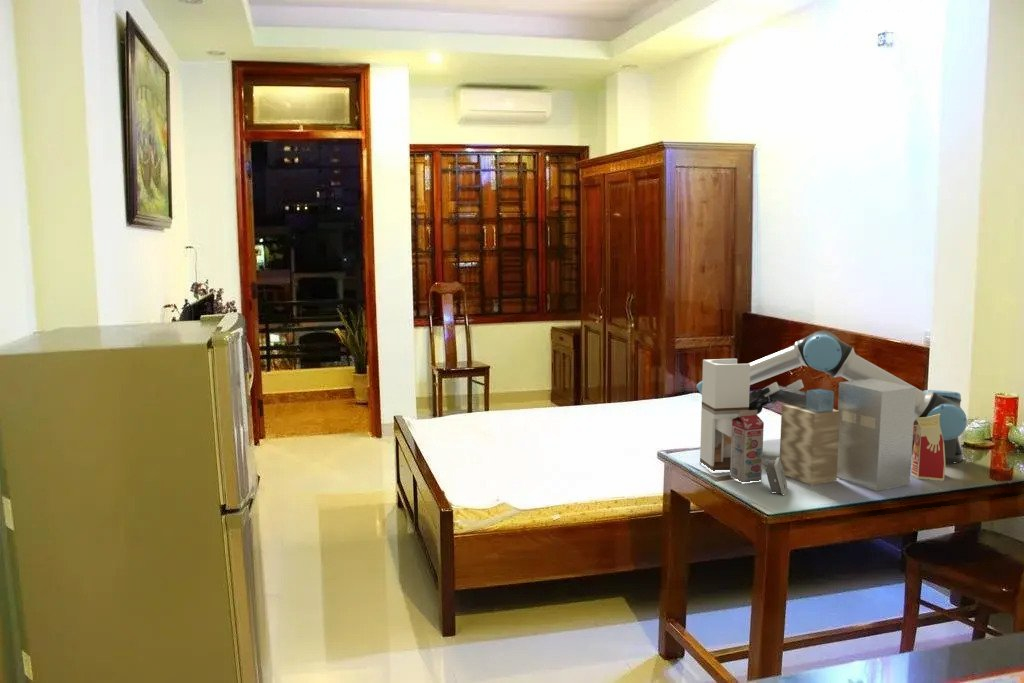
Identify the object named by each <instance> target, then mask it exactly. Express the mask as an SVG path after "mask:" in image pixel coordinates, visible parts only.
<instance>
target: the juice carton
mask: <svg viewBox="0 0 1024 683" xmlns="http://www.w3.org/2000/svg"><path fill="white" fill-rule="evenodd" d="M764 424H765V423H764V421H763V420H762V419H761V418H760V417H759V416H758V414H757V410H748V411H739V416H738V417H736V418H734V419H733V420H732V441H731V470H730V473H729V474H730V475H731V476H732V477H734V478H736V479H738V480H739V481H741V482H750V481H759V480H761V481H762V479H763V478H762V475H763V455H764V454H763V453H764V452H763V450H764V449H763V448H764Z"/></svg>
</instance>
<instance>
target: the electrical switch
mask: <svg viewBox="0 0 1024 683" xmlns="http://www.w3.org/2000/svg"><path fill="white" fill-rule="evenodd" d="M764 469H765V473H766V476H767V480H768V484H769V489H770V492H771V493H772V492H776V493H775V494H781V495H782V494H785V493H787V490H786V489H788V484H787V478H786V475H785V474H784V470H783V467H782V463H781V460H780V456H779V457H776V459H775V460H773V461H767V463H766V466H765V468H764ZM785 495H786V494H785Z"/></svg>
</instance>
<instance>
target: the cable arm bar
mask: <svg viewBox="0 0 1024 683" xmlns="http://www.w3.org/2000/svg"><path fill="white" fill-rule="evenodd" d="M778 387H779V391H777V392H775V393H773V394H771V395H770V399H772V400H775V401H777V402H780V403H783V404H790V405H794V406H798V407H801V408H805V409H806V410H809V411H813V412H816V413H822V412H830V411H833V409H834V403H835V402H834V400H835V399H834V398H835V391H833V390H828V389H824V388H816V389H810V390H809V389H807V390H806V391H803V390H794V389H790V388H786V387H787V386H782V385H778Z"/></svg>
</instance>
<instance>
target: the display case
mask: <svg viewBox="0 0 1024 683" xmlns="http://www.w3.org/2000/svg"><path fill="white" fill-rule="evenodd" d="M701 378H702V380H701V381H702V395H701V411H700V412H701V413H700V414H701V416H700V418H701V419H700V445H699V447H700V449H699V450H700V451H699V453H700V454H699V457H700V458H699V463H700V462H701V463H703V464H704V465H706V466H707V467H708V468H710V469H711V470H713V471H715V470H731V441H732V420H733V419H734V418H736V417H738V416H739V411H748V410H749V393H750V388H751V385H750V364H748V363H738V358H719V359H718V358H716V359H715V358H714V359H712V358H711V359H708V358H707V359H702V377H701Z"/></svg>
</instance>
